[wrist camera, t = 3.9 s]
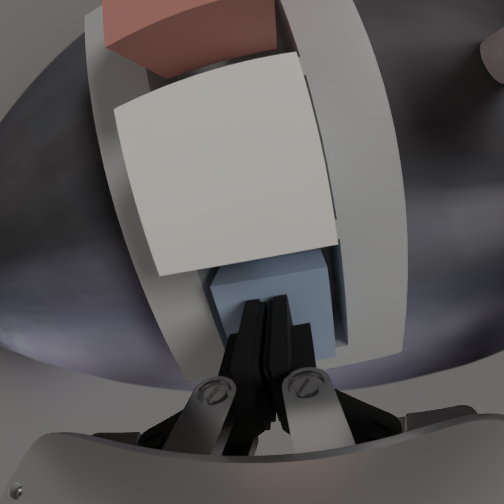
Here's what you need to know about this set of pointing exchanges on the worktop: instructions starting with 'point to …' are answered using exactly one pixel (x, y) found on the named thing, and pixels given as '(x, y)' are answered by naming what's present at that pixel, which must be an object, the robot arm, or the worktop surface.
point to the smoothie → (494, 55)
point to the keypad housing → (339, 177)
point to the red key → (187, 31)
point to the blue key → (280, 293)
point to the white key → (228, 166)
